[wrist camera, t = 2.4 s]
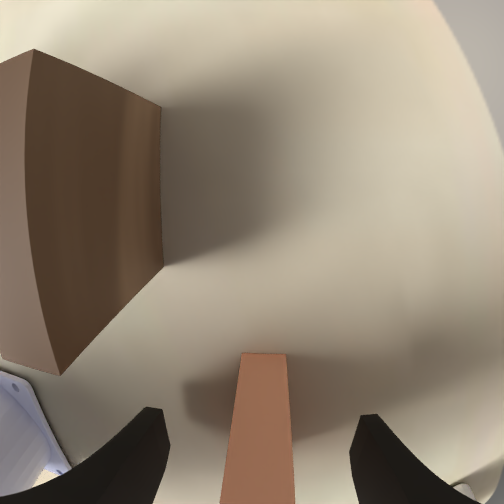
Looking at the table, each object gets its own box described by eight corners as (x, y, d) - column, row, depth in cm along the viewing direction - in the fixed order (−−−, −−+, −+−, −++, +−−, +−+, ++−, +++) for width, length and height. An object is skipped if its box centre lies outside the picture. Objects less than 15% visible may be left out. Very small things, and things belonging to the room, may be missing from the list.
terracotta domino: (242, 445, 12) (229, 565, 6) (241, 352, 11) (219, 502, 5) (277, 446, 12) (277, 567, 6) (285, 354, 11) (295, 504, 5)
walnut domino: (121, 265, 10) (2, 358, 4) (117, 112, 9) (-26, 76, 3) (163, 266, 10) (60, 375, 4) (160, 107, 9) (34, 48, 3)
